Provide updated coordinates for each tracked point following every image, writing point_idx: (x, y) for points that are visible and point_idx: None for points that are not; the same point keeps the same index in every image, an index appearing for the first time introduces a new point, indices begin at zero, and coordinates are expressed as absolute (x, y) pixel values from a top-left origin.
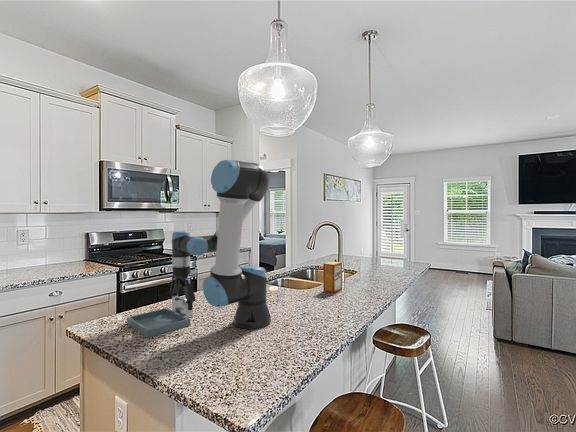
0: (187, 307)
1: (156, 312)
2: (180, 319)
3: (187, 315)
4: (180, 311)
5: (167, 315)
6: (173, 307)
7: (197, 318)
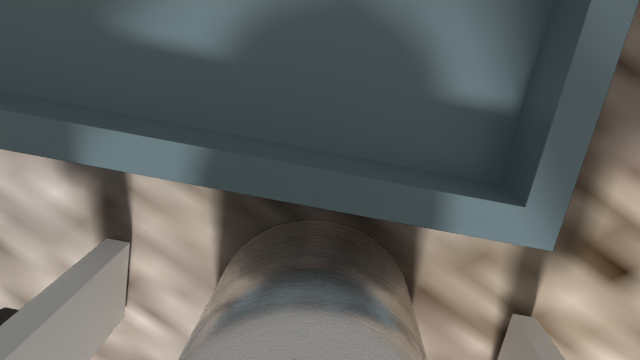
0: (14, 327)
1: (568, 36)
2: (10, 97)
3: (88, 259)
4: (234, 274)
5: (392, 138)
6: (529, 353)
7: (12, 303)
